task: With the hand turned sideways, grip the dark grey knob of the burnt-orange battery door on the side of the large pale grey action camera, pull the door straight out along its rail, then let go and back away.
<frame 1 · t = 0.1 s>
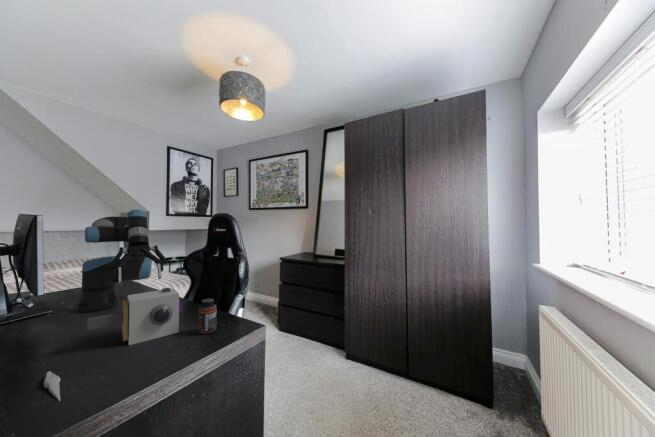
hand: (140, 280, 104), 15 cm above the table, tool tilted 35°, fingers open, 13 cm apart
toy camera: (165, 318, 102), on the table
camera body: (153, 333, 87), on the table
grey tapered wedge: (53, 390, 58), on the table
battery door: (108, 323, 79), point 7 cm above the table, slide at 0.0 cm
supplement bottle: (207, 331, 89), on the table
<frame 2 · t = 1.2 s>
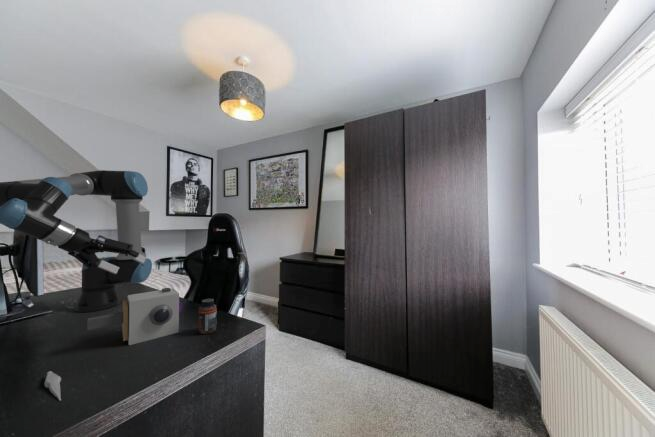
hand: (130, 265, 93), 23 cm above the table, tool tilted 55°, fingers open, 13 cm apart
nothing on the table moved.
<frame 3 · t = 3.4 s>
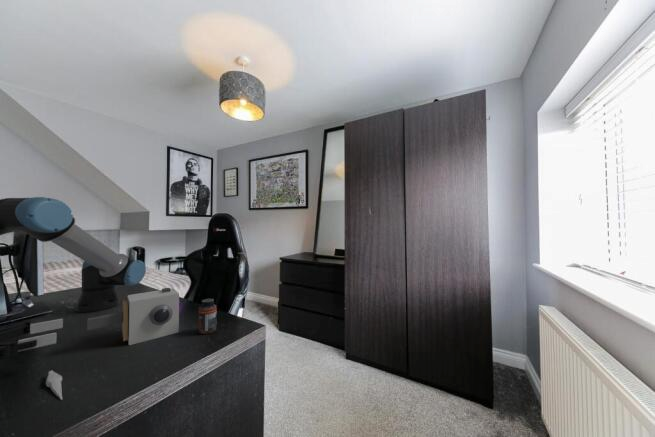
hand: (59, 329, 71), 8 cm above the table, tool horizontal, fingers open, 13 cm apart
nothing on the table moved.
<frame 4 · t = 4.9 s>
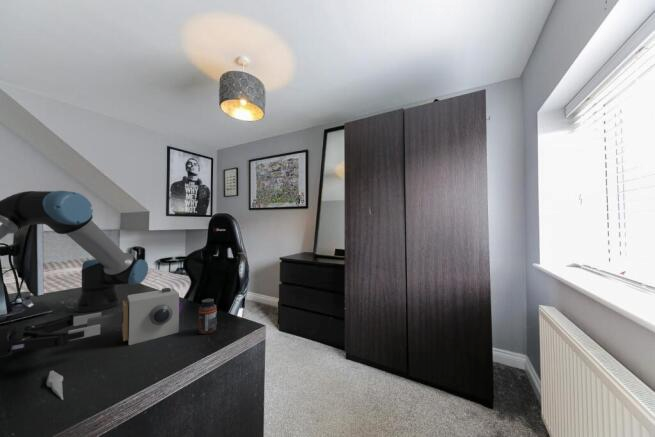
hand: (101, 322, 77), 8 cm above the table, tool horizontal, fingers open, 13 cm apart
nothing on the table moved.
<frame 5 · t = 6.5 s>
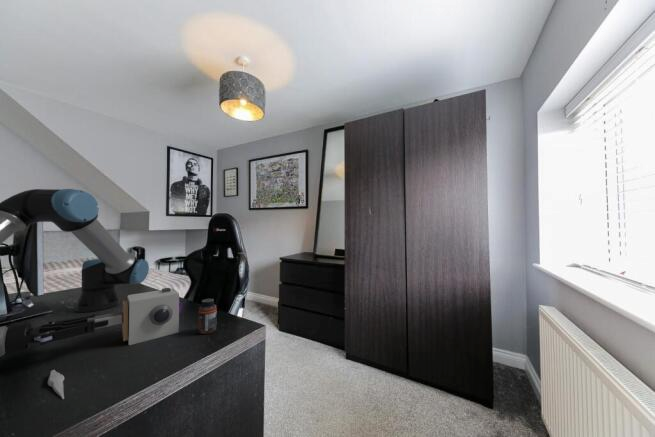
hand: (121, 317, 81), 8 cm above the table, tool horizontal, fingers closed on battery door, 2 cm apart
battery door: (107, 323, 79), point 7 cm above the table, slide at 0.0 cm, touching gripper
everything else where it was.
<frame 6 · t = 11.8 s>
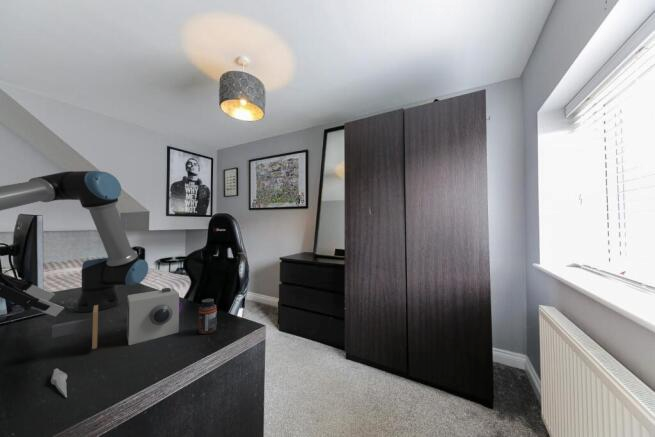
hand: (55, 304, 76), 14 cm above the table, tool tilted 50°, fingers open, 13 cm apart
battery door: (76, 329, 74), point 7 cm above the table, slide at 7.2 cm
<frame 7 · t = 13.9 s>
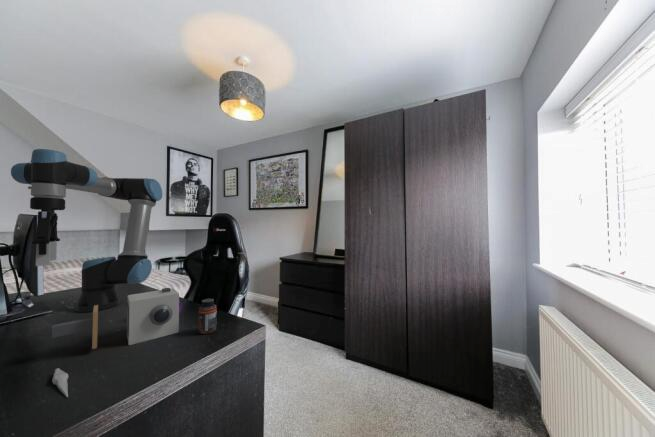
hand: (46, 263, 79), 27 cm above the table, tool pointing down, fingers open, 13 cm apart
at the end: battery door slide at 7.2 cm; the gripper is holding nothing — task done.
